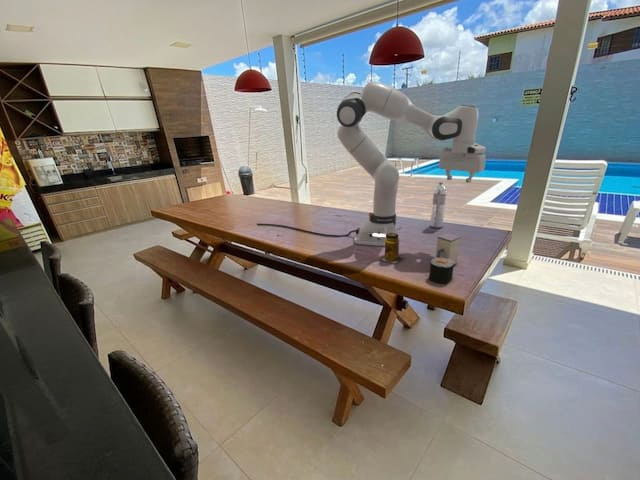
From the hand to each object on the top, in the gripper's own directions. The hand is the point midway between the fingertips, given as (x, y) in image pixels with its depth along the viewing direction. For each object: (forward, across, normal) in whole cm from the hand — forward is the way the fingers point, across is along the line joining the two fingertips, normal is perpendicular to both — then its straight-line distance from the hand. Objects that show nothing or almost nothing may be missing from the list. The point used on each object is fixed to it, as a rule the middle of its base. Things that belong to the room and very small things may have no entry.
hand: (458, 181), depth 136 cm
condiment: (+31, -8, -31) cm, 45 cm away
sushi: (+31, +18, -31) cm, 47 cm away
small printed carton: (+25, +10, -14) cm, 30 cm away
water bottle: (+31, -23, +19) cm, 43 cm away
